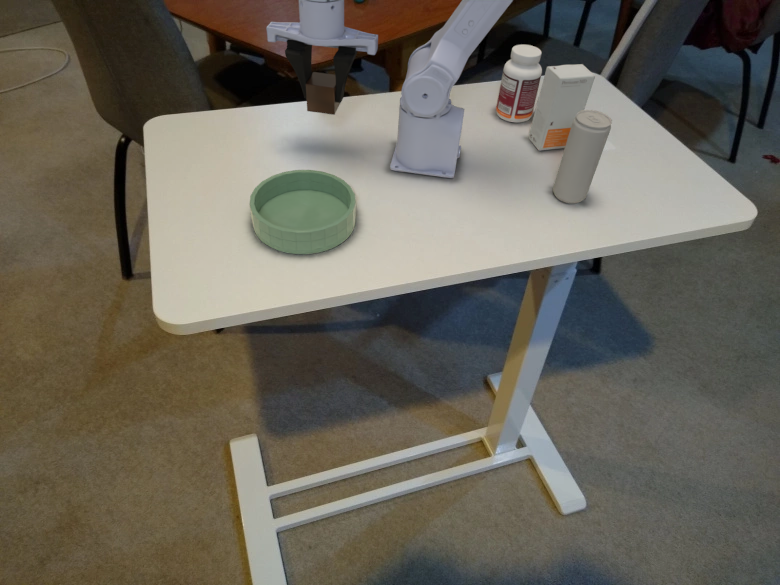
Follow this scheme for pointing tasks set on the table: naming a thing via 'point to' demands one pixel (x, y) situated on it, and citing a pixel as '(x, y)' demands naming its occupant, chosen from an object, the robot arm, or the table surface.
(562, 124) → the cosmetic box
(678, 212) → the table surface
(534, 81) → the pill bottle
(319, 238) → the bowl
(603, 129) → the beverage can
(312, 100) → the block
